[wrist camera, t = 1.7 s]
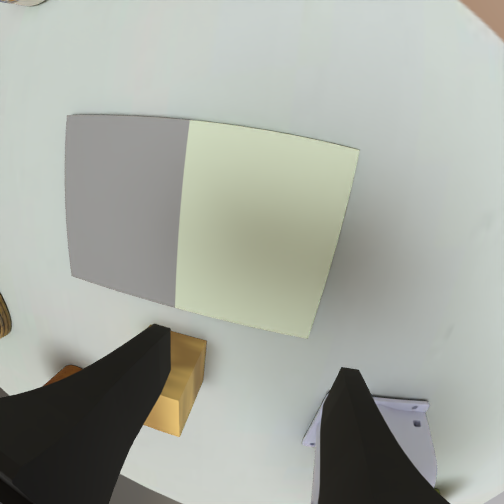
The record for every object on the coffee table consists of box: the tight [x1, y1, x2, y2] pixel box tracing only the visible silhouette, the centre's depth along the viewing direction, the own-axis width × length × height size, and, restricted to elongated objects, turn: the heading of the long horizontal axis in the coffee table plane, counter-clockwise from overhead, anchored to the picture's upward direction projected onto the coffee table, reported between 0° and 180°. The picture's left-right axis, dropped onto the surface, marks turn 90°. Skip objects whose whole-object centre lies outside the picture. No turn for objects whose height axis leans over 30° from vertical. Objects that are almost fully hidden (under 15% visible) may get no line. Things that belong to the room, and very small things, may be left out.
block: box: [143, 325, 207, 437], centre depth 20 cm, size 4×4×6 cm
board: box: [65, 115, 360, 339], centre depth 18 cm, size 18×12×1 cm, turn 81°
